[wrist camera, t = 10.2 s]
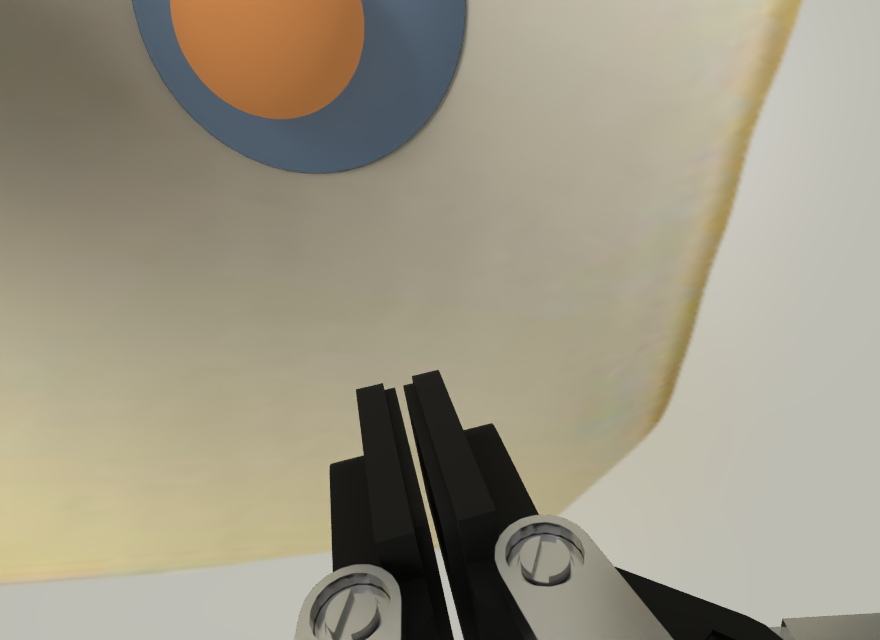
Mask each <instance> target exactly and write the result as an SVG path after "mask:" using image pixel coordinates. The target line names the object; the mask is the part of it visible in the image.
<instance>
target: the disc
mask: <svg viewBox="0 0 880 640" xmlns="http://www.w3.org/2000/svg"><path fill="white" fill-rule="evenodd" d="M132 1H133V8H134V12H135V15H136V19H137V23H138V26H139V30H140V33H141V36H142V38H143V41H144V43H145V46H146V48H147V51H148V53H149V55H150V58H151V60H152V61H153V63H154V65H155V67H156V69H157V71H158V72H159V74H160V76H161V78H162V80H163V81H164V83H165V84H166V85H167V87H168V88H169V90H170V91H171V93H172V94H173V95H174V97H175V98H176V100H177V101H178V102H179V103H180V104H181V105H182V107H183V108H184V109H185V110H186V111H187V112H188V113H189V114H190V116H191V117H192V118H193V119H194V120H195V121H197V122H198V123H199V124H200V125H201V126H202V127H203V128H204V129H205V130H207V131H208V132H209V133H210V134H211V135H213V136H214V137H215V138H217V139H218V140H220V141H221V142H222V143H224V144H225V145H227V146H228V147H230V148H232V149H234V150H235V151H237V152H239V153H241V154H243V155H244V156H246V157H248V158H251V159H253V160H256V161H258V162H261V163H263V164H266V165H269V166H273V167H276V168H280V169H284V170H289V171H296V172H303V173H330V172H338V171H345V170H349V169H353V168H356V167H360V166H363V165H366V164H368V163H371V162H373V161H376V160H378V159H380V158H382V157H384V156H385V155H387V154H389V153H391V152H392V151H394V150H396V149H397V148H398V147H400V146H401V145H402V144H404V143H405V142H406V141H407V140H409V139H410V138H411V137H412V136H413V135H414V134H415V133H416V132H417V131H418V130H419V129H420V128H421V127H422V126H423V125H424V124H425V123H426V121H427V120H428V119H429V117H430V116H431V115H432V113H433V112H434V111H435V109H436V108H437V106H438V105H439V103H440V101H441V99H442V98H443V96H444V94H445V92H446V91H447V88H448V86H449V84H450V81H451V79H452V76H453V74H454V72H455V68H456V65H457V61H458V58H459V54H460V51H461V45H462V39H463V33H464V20H465V0H361V2H362V6H363V14H364V43H363V49H362V53H361V57H360V60H359V64H358V66H357V68H356V71H355V73H354V75H353V77H352V78H351V80H350V81H349V83H348V85H347V86H346V88H345V89H344V90H343V91H342V92H341V93H340V94H339V95H338V96H337V97H336V98H335V99H334V100H333V101H332V102H331V103H329V104H328V105H326V106H325V107H323V108H322V109H320V110H318V111H316V112H313V113H311V114H309V115H306V116H302V117H298V118H290V119H270V118H264V117H260V116H256V115H252V114H249V113H246V112H244V111H241V110H239V109H237V108H235V107H233V106H232V105H230V104H228V103H227V102H225V101H224V100H222V99H221V98H220V97H218V96H217V95H216V94H215V93H213V92H212V91H211V90H210V89H209V88H208V87H207V86H206V85H205V84H204V83H203V82H202V81H201V80H200V78H199V77H198V76H197V74H196V73H195V72H194V71H193V69H192V67H191V66H190V64H189V63H188V61H187V59H186V58H185V56H184V54H183V52H182V50H181V48H180V45H179V43H178V40H177V37H176V34H175V30H174V27H173V22H172V17H171V9H170V0H132Z"/></svg>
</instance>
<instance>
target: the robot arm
mask: <svg viewBox="0 0 880 640" xmlns="http://www.w3.org/2000/svg"><path fill="white" fill-rule="evenodd" d="M412 380H413V383H412V384H408V385H404V386H403V387H404V392H405V396H406V401H407V406H408V411H409V415H410V420H411V425H412V429H413V434H414V439H415V443H416V448H417V453H418V457H419V462H420V467H421V471H422V476H423V481H424V485H425V490H426V494H427V499H428V503H429V507H430V511H431V514H432V518H433V522H434V526H435V530H436V534H437V538H438V541H439V545H440V549H441V553H442V557H443V560H444V565H445V569H446V572H447V576H448V580H449V584H450V588H451V592H452V595H453V599H454V603H455V607H456V611H457V615H458V619H459V623H460V627H461V630H462V634H463V638H464V640H880V613H872V614H855V615H838V616H821V617H806V618H805V617H804V618H788V619H782V624H781V627H769V628H768V627H767V626H766V625H764V624H762V623H760V622H758V621H756V620H754V619H752V618H750V617H748V616H746V615H743V614H740V613H738V612H735V611H732V610H730V609H727V608H724V607H721V606H719V605H716V604H714V603H711V602H708V601H706V600H703V599H700V598H698V597H694V596H692V595H689V594H687V593H684V592H681V591H679V590H676V589H673V588H670V587H668V586H665V585H663V584H660V583H657V582H654V581H652V580H649V579H647V578H644V577H641V576H638V575H636V574H633V573H630V572H628V571H625V570H622V569H620V568H617V567H614V566H613V565H612V563H611V562H610V561H609V560H608V559H607V557H606V556H605V555H604V554H603V552H602V551H601V550H600V549H599V548H598V546H597V545H596V544H595V543H594V541H593V540H592V539H591V538H590V537H589V535H588V534H587V533H586V532H585V531H584V530H583V529H581V528H580V527H579V526H578V525H577V524H575V523H573V522H571V521H569V520H567V519H565V518H562V517H557V516H553V515H539V514H538V512H537V510H536V508H535V506H534V504H533V502H532V500H531V498H530V496H529V494H528V492H527V490H526V488H525V486H524V484H523V482H522V480H521V478H520V476H519V474H518V472H517V470H516V468H515V466H514V464H513V462H512V460H511V458H510V456H509V454H508V452H507V450H506V448H505V446H504V444H503V442H502V440H501V438H500V436H499V434H498V432H497V430H496V428H495V427H494V425H493V424H492V423H491V424H487V425H483V426H479V427H475V428H471V429H467V430H463V429H462V426H461V424H460V421H459V419H458V416H457V414H456V411H455V409H454V406H453V404H452V402H451V399H450V397H449V394H448V392H447V389H446V387H445V384H444V382H443V379H442V377H441V375H440V372H439V370H436V371H432V372H427V373H423V374H419V375H415V376H412ZM356 394H357V402H358V411H359V419H360V427H361V435H362V443H363V451H364V456H360V457H356V458H352V459H348V460H344V461H340V462H336V463H332V464H331V465H330V498H331V529H332V558H333V573H331V574H329V575H327V576H326V577H325V578H323V579H322V580H321V581H320V582H319V583H318V584H317V585H315V587H313V589H312V590H311V591H310V593H309V594H308V596H307V597H306V599H305V600H304V602H303V606H302V608H301V611H300V614H299V617H298V622H297V628H296V633H295V638H294V640H454V638H453V634H452V629H451V624H450V620H449V615H448V611H447V606H446V601H445V597H444V592H443V588H442V583H441V578H440V574H439V569H438V565H437V560H436V556H435V551H434V546H433V542H432V537H431V533H430V529H429V524H428V520H427V516H426V512H425V508H424V504H423V500H422V496H421V492H420V488H419V483H418V479H417V475H416V471H415V467H414V463H413V459H412V455H411V451H410V447H409V443H408V439H407V435H406V431H405V427H404V423H403V419H402V415H401V410H400V406H399V402H398V398H397V394H396V390H395V388H391V389H387V390H384V386H383V383H381V384H377V385H373V386H369V387H364V388H360V389H356Z"/></svg>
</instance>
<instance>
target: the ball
mask: <svg viewBox="0 0 880 640" xmlns="http://www.w3.org/2000/svg"><path fill="white" fill-rule="evenodd" d="M170 9H171V17H172V22H173V27H174V30H175V34H176V37H177V40H178V43H179V45H180V48H181V50H182V52H183V54H184V56H185V58H186V59H187V61H188V63H189V64H190V66H191V67H192V69H193V71H194V72H195V73H196V74H197V76H198V77H199V78H200V80H201V81H202V82H203V83H204V84H205V85H206V86H207V87H208V88H209V89H210V90H211V91H212V92H213V93H215V94H216V95H217V96H218V97H220V98H221V99H222V100H224V101H225V102H227V103H228V104H230V105H232V106H233V107H235V108H237V109H239V110H241V111H244V112H246V113H249V114H252V115H256V116H260V117H264V118H270V119H290V118H298V117H302V116H306V115H309V114H311V113H313V112H316V111H318V110H320V109H322V108H323V107H325V106H326V105H328V104H329V103H331V102H332V101H333V100H334V99H335V98H336V97H337V96H338V95H339V94H340V93H341V92H342V91H343V90H344V89H345V88H346V86H347V85H348V83H349V81H350V80H351V78H352V77H353V75H354V73H355V71H356V68H357V66H358V64H359V60H360V57H361V53H362V49H363V43H364V14H363V6H362V2H361V0H170Z"/></svg>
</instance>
